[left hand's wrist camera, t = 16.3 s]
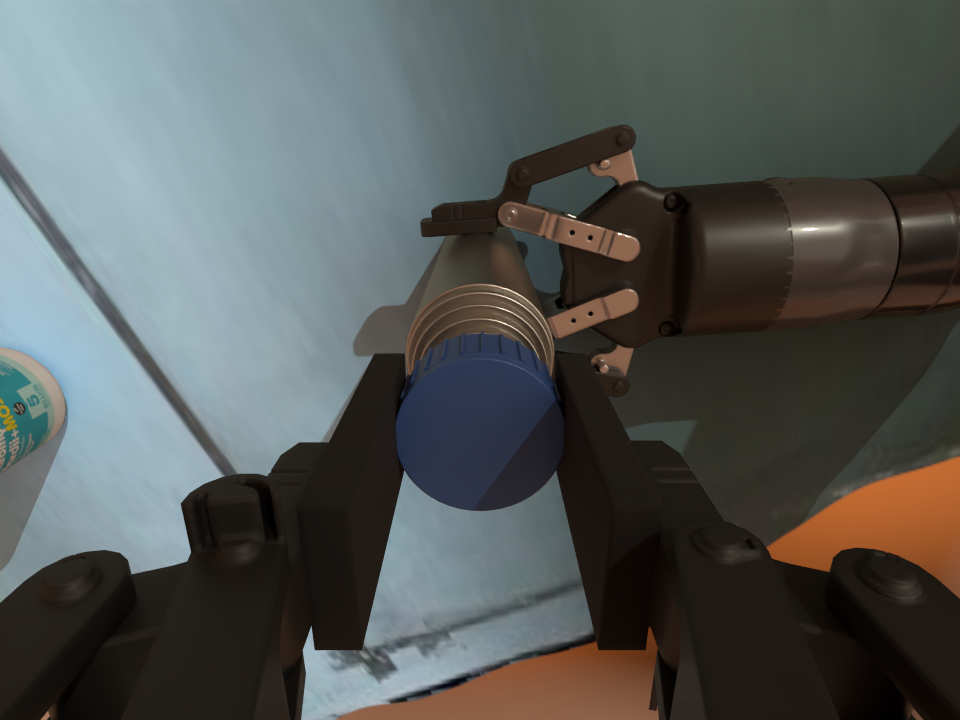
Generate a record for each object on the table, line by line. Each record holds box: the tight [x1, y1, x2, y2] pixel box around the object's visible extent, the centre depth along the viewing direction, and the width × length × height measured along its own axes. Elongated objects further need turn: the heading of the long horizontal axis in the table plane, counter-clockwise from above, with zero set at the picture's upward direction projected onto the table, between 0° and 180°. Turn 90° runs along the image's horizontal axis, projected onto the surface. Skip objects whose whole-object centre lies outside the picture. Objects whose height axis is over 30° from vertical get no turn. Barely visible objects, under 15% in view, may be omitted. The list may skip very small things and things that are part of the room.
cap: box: [396, 331, 565, 511], centre depth 14 cm, size 4×4×2 cm
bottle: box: [406, 227, 555, 376], centre depth 24 cm, size 5×5×24 cm
